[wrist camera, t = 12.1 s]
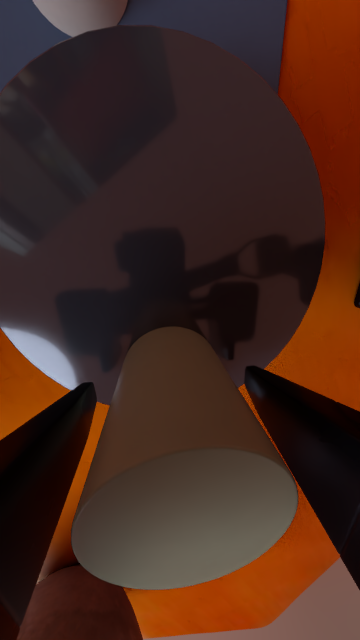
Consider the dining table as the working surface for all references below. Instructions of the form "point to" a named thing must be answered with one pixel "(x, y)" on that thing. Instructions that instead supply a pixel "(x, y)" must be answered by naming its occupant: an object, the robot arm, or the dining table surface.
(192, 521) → the sage candle
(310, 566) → the dining table surface
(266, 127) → the cake stand
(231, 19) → the placemat
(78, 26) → the ivory candle
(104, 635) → the vase
